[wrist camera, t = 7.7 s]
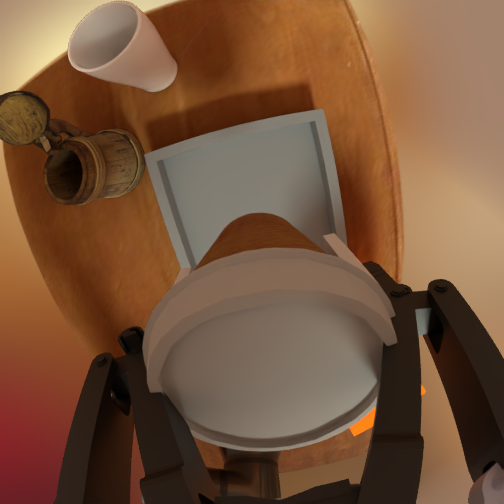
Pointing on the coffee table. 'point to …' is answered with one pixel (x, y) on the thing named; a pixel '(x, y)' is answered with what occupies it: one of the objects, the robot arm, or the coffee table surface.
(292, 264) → the disposable coffee cup
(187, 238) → the tray
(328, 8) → the coffee table surface
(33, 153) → the coffee table surface
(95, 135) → the wooden mug
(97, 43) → the drinking glass
